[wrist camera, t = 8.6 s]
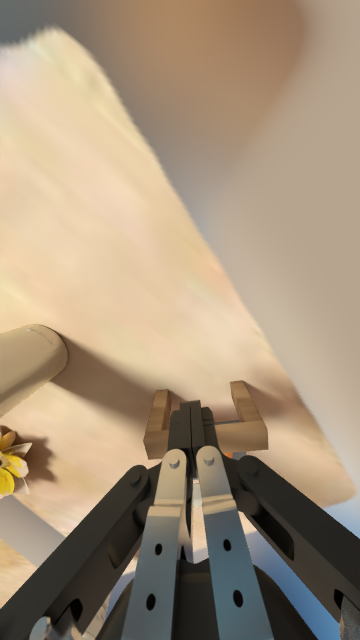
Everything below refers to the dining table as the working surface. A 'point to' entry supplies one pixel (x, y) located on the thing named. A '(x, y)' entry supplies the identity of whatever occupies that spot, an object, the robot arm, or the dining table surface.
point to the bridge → (229, 436)
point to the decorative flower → (12, 466)
